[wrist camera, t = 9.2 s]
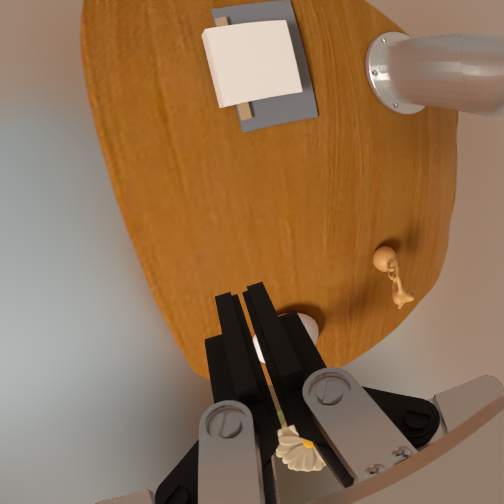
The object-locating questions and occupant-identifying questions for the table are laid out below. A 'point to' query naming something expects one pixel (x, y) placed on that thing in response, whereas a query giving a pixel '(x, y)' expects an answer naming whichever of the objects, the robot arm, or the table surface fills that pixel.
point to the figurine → (386, 262)
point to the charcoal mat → (302, 102)
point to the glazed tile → (251, 61)
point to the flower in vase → (291, 445)
